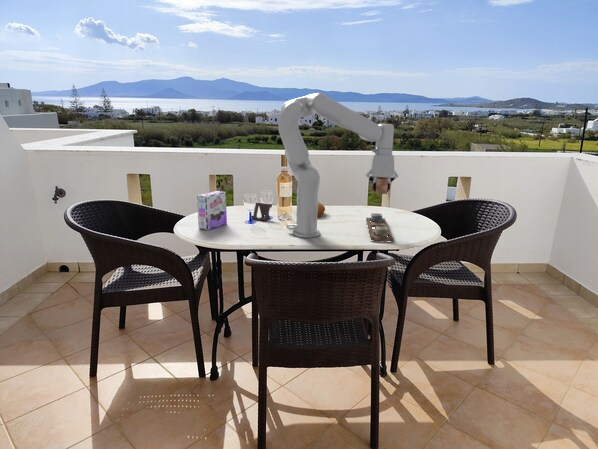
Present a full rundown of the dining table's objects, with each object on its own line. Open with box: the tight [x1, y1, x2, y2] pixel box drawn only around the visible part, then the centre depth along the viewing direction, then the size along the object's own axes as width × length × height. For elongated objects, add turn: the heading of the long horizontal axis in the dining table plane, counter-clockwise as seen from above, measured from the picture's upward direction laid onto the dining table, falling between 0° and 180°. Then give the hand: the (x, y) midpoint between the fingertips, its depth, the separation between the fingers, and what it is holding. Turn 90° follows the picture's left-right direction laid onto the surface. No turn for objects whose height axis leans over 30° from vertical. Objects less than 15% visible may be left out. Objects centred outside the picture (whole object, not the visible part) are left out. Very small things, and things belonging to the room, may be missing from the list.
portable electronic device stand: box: [250, 201, 273, 222], centre depth 205 cm, size 9×8×8 cm
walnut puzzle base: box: [365, 212, 394, 242], centre depth 189 cm, size 10×32×5 cm, turn 175°
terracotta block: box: [375, 177, 388, 195], centre depth 183 cm, size 5×5×7 cm
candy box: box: [196, 190, 228, 231], centre depth 189 cm, size 14×6×16 cm, turn 147°
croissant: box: [317, 201, 326, 218], centre depth 216 cm, size 14×16×8 cm
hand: (381, 190), depth 183 cm, fingers closed on terracotta block, 5 cm apart
